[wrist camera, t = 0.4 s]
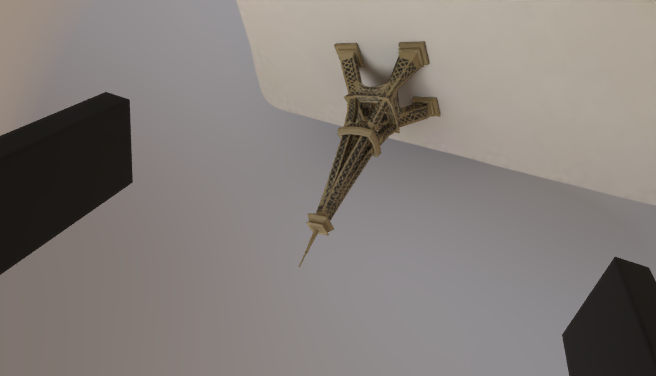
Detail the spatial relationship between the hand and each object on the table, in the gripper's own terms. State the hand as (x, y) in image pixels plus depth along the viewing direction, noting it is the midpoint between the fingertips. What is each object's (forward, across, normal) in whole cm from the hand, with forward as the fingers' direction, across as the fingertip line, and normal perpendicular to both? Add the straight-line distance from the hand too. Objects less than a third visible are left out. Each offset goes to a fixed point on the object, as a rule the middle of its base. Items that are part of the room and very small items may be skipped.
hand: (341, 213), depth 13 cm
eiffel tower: (+43, -4, -10) cm, 45 cm away
